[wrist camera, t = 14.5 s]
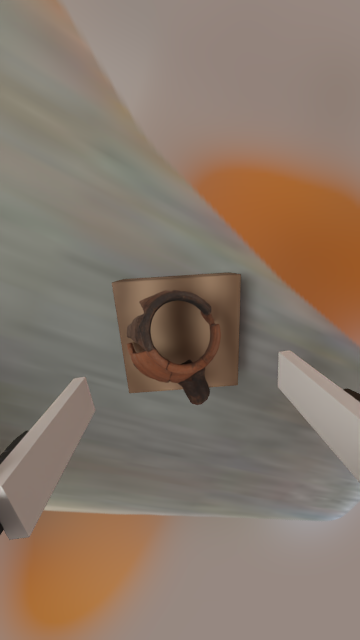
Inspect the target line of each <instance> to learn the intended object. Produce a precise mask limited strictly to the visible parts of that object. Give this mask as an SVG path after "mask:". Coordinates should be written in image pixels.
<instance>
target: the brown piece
mask: <svg viewBox="0 0 360 640" xmlns="http://www.w3.org/2000/svg"><path fill="white" fill-rule="evenodd" d="M171 301H184V302H188V303H191V304H193V305H194V306H196V307H197V308H198V309H199V310H201V315H202V316H203V318H204V319H205V321H206V322H207V323H208V324H209V327H210V341H209V345H208V348H207V350H206V351H205V353H204V354H203V355H202V356H201V357H200V358H199V359H198V360H197V361H195V362H192V361H191V360H187V361H186V362H184V363H182V364H176V363H173V362H170V361H168V360H167V359H165V358H164V357H163V356H162V355H161V354H160V353H159V352H158V351H157V349H156V348H155V347H154V345H153V342H152V338H151V323H152V319H153V317H154V315H155V312H156V311H157V310H158V309H159V308H160V307H161V306H163V305H164V304H166V303H168V302H171ZM139 303H140V304H141V307H142V308H143V311H144V314H142V315H139V316H137V317H136V318H134V319H133V321H132V323H131V324H130V325H128V326H127V337H128V338H131V339H132V340H133V341H134V342H135V343H137V344H139V345H140V346H141V347H142V348H143V349H144V351H142V352H139V353H137V352H136V351H135V349H134V346H133V344H132V343H128V344H127V349H128V353H129V354H130V356H131V360H132V362H133V365H134V366H135V367H136V368H137V369H138V370H139V371H140V372H141V373H142V374H144V375H145V376H147V377H149V378H152V379H155V380H157V381H160V382H165V383H169V382H172V383H178V384H179V385H180V386H182V387H183V389H184V391H185V393H186V395H187V397H188V398H189V400H190V402H191V403H192V404H195V405H199V404H202V403H203V402H204V401H206V400H207V399H208V396H209V393H210V390H209V386H208V383H207V381H206V379H205V367H206V366H207V365H208V364H209V363H210V362H211V361H212V360H213V358H214V356H215V355H216V353H217V351H218V349H219V345H220V339H221V330H220V325H219V324H215V323H214V319H213V317H212V315H211V306H210V304H209V303H207V302H206V301H205V300H204V299H202V298H201V297H199V296H198V295H196V294H193V293H191V292H186V291H179V290H173V291H162V292H159V293H157V294H155V295H153V296H150V297H148V298H145V299H143V300H141V301H139Z"/></svg>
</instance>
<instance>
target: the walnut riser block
mask: <svg viewBox="0 0 360 640" xmlns="http://www.w3.org/2000/svg"><path fill="white" fill-rule="evenodd" d="M240 282H241V274H235V273H214V274H198V275H183V276H168V277H152V278H137V279H122V280H119V281H116V282H113V283H112V287H113V293H114V300H115V306H116V312H117V319H118V325H119V331H120V337H121V344H122V350H123V356H124V363H125V369H126V375H127V381H128V388H129V393H138V392H151V391H165V390H178V389H183V387H182V386H180V385H179V384H178V383H172V382H169V383H165V382H160V381H157V380H155V379H152V378H149V377H147V376H145V375H144V374H142V373H141V372H140V371H139V370H138V369H137V368H136V367H135V366H134V365H133V362H132V360H131V356H130V354H129V353H128V349H127V344H128V343H132V344H133V346H134V349H135V351H136V352H137V353H139V352H142V351H144V349H143V348H142V347H141V346H140V345H139V344H137V343H135V342H134V341H133V340H132V339H131V338H128V337H127V326H128V325H130V324H131V323H132V321H133V319H134V318H136V317H137V316H139V315H142V314H144V311H143V308H142V307H141V304H140V303H139V301H141V300H143V299H145V298H148V297H150V296H153V295H155V294H157V293H159V292H162V291H173V290H179V291H186V292H191V293H193V294H196V295H198V296H199V297H201V298H202V299H204V300H205V301H206V302H207V303H209V304H210V306H211V315H212V317H213V319H214V323H215V324H219V325H220V330H221V339H220V345H219V349H218V351H217V353H216V355H215V356H214V358H213V360H212V361H211V362H210V363H209V364H208V365H207V366H206V367H205V379H206V381H207V383H208V386H209V387H219V386H233V385H238V355H239V318H240ZM151 338H152V342H153V345H154V347H155V348H156V349H157V351H158V352H159V353H160V354H161V355H162V356H163V357H164V358H165V359H167V360H168V361H170V362H173V363H176V364H182V363H184V362H186V361H187V360H191V361H192V362H195V361H197V360H198V359H199V358H200V357H201V356H202V355H203V354H204V353H205V351H206V350H207V348H208V345H209V341H210V327H209V324H208V323H207V322H206V321H205V319H204V318H203V316H202V315H201V310H199V309H198V308H197V307H196V306H194V305H193V304H191V303H188V302H184V301H171V302H168V303H166V304H164V305H163V306H161V307H160V308H159V309H158V310H157V311H156V312H155V315H154V317H153V319H152V323H151Z"/></svg>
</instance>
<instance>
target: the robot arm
mask: <svg viewBox="0 0 360 640" xmlns="http://www.w3.org/2000/svg"><path fill="white" fill-rule="evenodd" d="M278 388H279V389H280V390H281V391H282V392H283V393H284V395H285V396H286V397H287V398H288V399H289V400H290V402H291V403H292V404H293V405H294V406H295V408H296V409H297V410H298V411H299V412H300V413H301V415H302V416H303V417H304V418H305V419H306V420H307V422H308V423H309V424H310V425H311V426H312V427H313V429H314V430H315V431H316V432H317V433H318V434H319V436H320V437H321V438H322V439H323V440H324V441H325V443H326V444H327V445H328V446H329V447H330V448H331V450H332V451H333V452H334V453H335V454H336V455H337V457H338V458H339V459H340V460H341V461H342V462H343V464H344V465H345V466H346V467H347V468H348V470H349V471H350V472H351V473H352V474H353V475H354V477H355V478H356V479H357V480H358V481H359V482H360V394H359V393H357V392H354V391H352V390H350V389H341V388H340V387H339V386H337V385H336V384H335V383H333V382H332V381H331V380H329V379H328V378H327V377H325V376H324V375H322V374H321V373H320V372H318V371H317V370H316V369H314V368H313V367H312V366H310V365H309V364H308V363H306V362H305V361H304V360H302V359H301V358H299V357H298V356H297V355H295V354H294V353H293V352H291V351H282V352H279V360H278ZM94 412H95V407H94V404H93V400H92V397H91V394H90V391H89V387H88V384H87V381H86V377H81V378H74V379H73V380H72V381H71V383H70V384H69V385H68V386H67V387H66V388H65V390H64V391H63V392H62V393H61V394H60V395H59V397H58V398H57V399H56V400H55V401H54V402H53V404H52V405H51V406H50V407H49V408H48V409H47V411H46V412H45V413H44V414H43V415H42V416H41V418H40V419H39V420H38V421H37V422H36V423H35V425H34V426H33V427H32V428H31V429H30V430H29V431H25V432H24V433H23V434H21V435H20V436H19V437H17V438H16V439H15V440H14V441H13V442H12V443H11V444H10V445H9V446H8V447H7V449H6V450H5V452H4V453H2V454H1V455H0V534H1V533H2V531H3V530H4V531H5V533H6V535H7V536H8V538H9V539H18V538H25V537H30V535H31V533H32V531H33V529H34V527H35V525H36V523H37V521H38V519H39V517H40V516H41V514H42V512H43V510H44V508H45V506H46V504H47V502H48V500H49V498H50V496H51V494H52V493H53V491H54V489H55V487H56V485H57V483H58V481H59V479H60V477H61V475H62V473H63V472H64V470H65V468H66V466H67V464H68V462H69V460H70V458H71V456H72V454H73V452H74V451H75V449H76V447H77V445H78V443H79V441H80V439H81V437H82V435H83V433H84V431H85V429H86V428H87V426H88V424H89V422H90V420H91V418H92V416H93V414H94Z"/></svg>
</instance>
